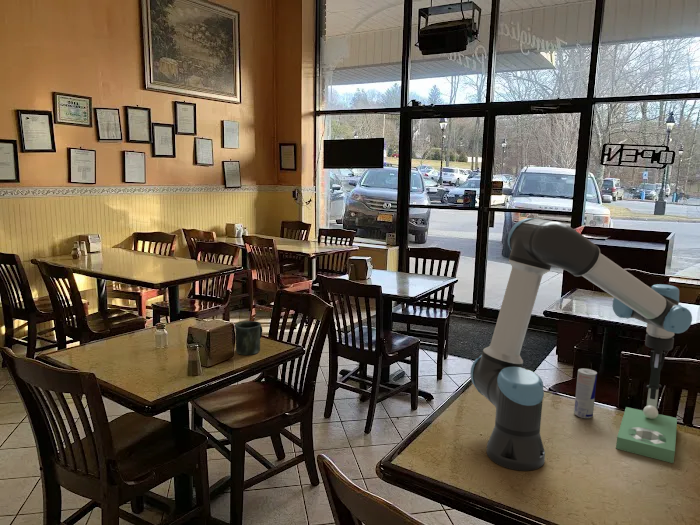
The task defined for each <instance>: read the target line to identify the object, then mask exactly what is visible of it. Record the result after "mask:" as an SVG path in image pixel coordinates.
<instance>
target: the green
mask: <svg viewBox="0 0 700 525" xmlns="http://www.w3.org/2000/svg"><path fill="white" fill-rule="evenodd" d="M677 423H678V418H677V417H673V416H670V415H664V414H659V413H658V416H657V417H656V418H654V419H649V418H647V417H646V416H645V415H644V413H643V409H638V408H632V407H628V406H625V410H624V413H623V416H622V419H621V422H620V426H619V430H618V432H617V437H616V446H615V449H616V450H621V451H625V452H626V453H627V452H628V453H632V454H635V455H640V456H643V457H646V458H647V457H648V458H650V459H651V458H652V459H654V460H655V459H656V460H659V461H663V462H667V463H671V464H674V460H675V453H676V439H677V425H678V424H677Z"/></svg>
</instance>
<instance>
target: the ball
mask: <svg viewBox="0 0 700 525" xmlns="http://www.w3.org/2000/svg"><path fill="white" fill-rule="evenodd" d="M642 411H643V413H644V415H645V416H646V417H647V418H649V419H654V418H656V417H657V416H658V414H659V411H658V408H655V407H654V406H651V405H648V406H647V405H646V406H644V408H643V409H642Z"/></svg>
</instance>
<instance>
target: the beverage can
mask: <svg viewBox="0 0 700 525" xmlns="http://www.w3.org/2000/svg"><path fill="white" fill-rule="evenodd" d="M597 380H598V372H597V371H596V370H593V369H590V368H578V370H577V377H576V387H575V396H574V397H575V399H574V409H573V410H574V411H573V414H575V415H576V417H579V418H581V419H591V418H593V417H594V407H595V399H596V398H595V397H596V389H597V388H596V387H597Z"/></svg>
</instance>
